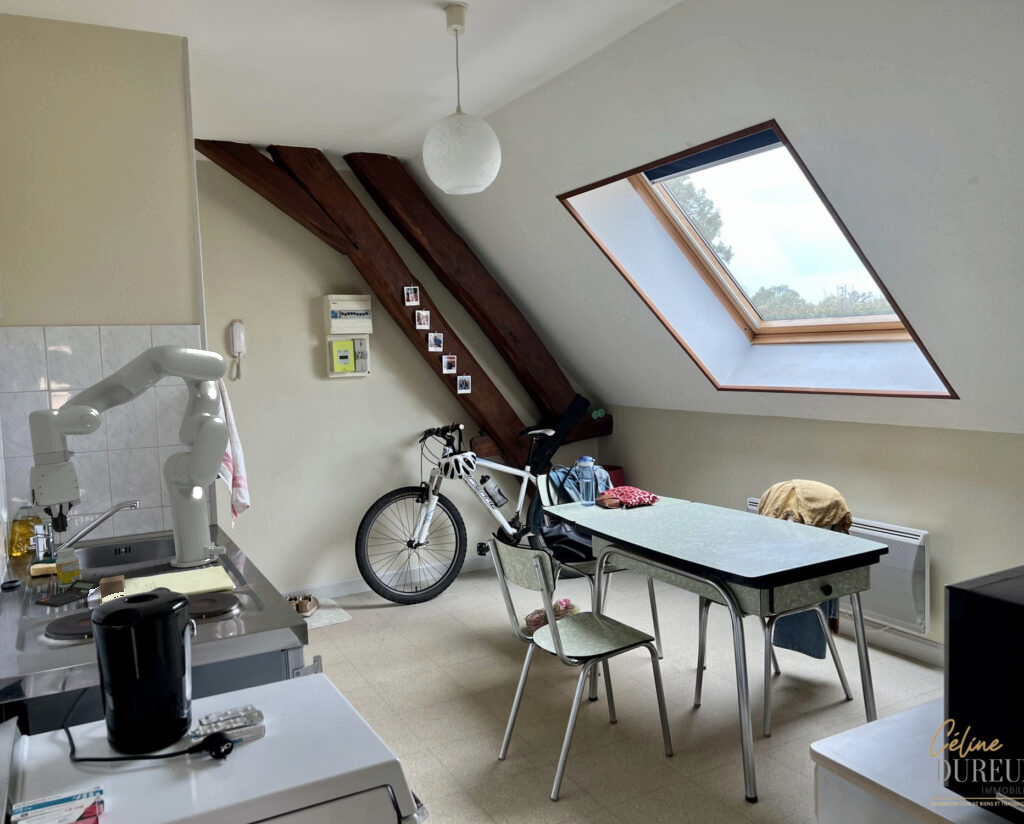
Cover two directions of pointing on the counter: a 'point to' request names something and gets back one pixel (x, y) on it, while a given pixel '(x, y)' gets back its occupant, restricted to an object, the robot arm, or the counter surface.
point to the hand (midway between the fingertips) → (60, 531)
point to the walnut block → (112, 585)
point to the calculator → (70, 594)
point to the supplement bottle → (67, 567)
